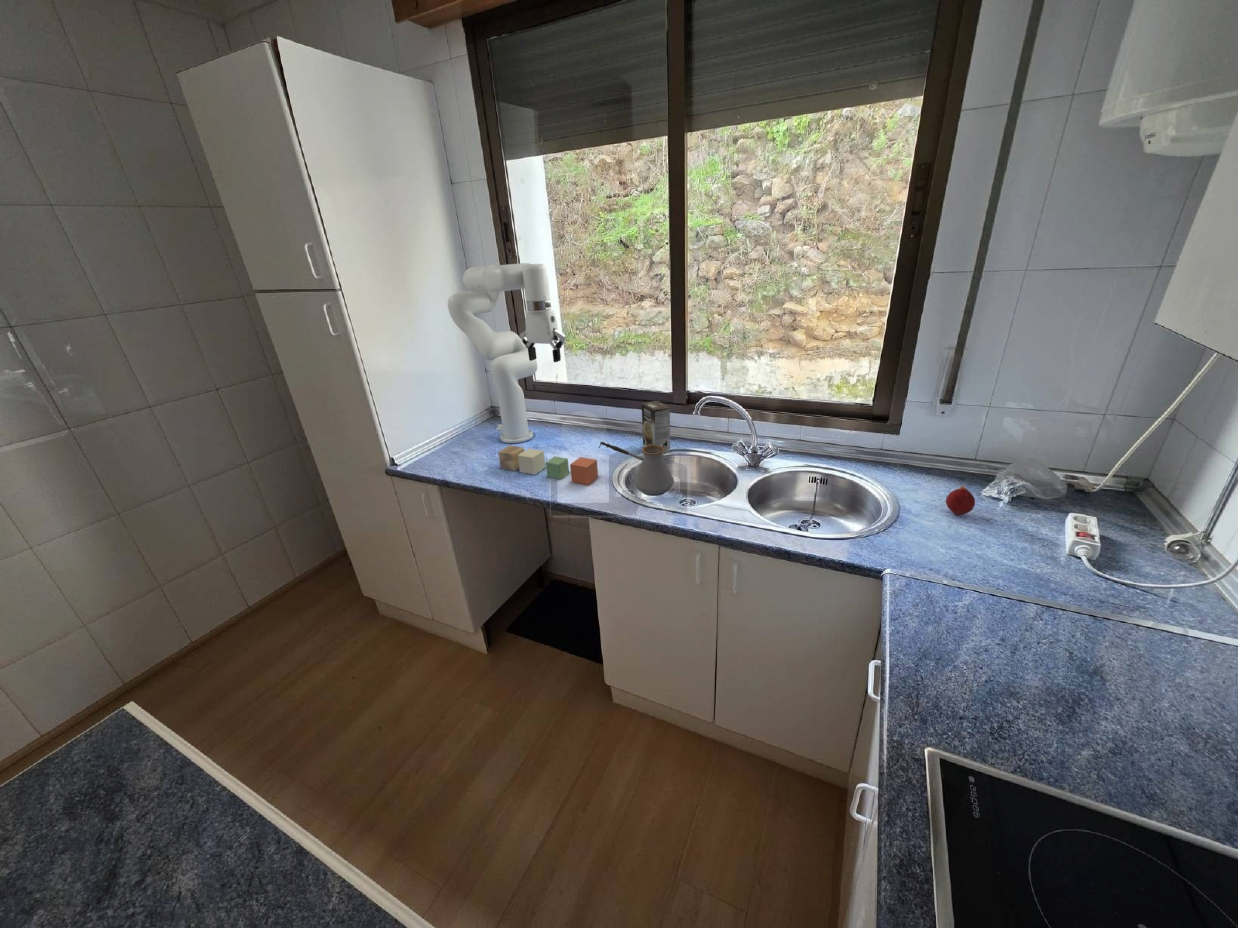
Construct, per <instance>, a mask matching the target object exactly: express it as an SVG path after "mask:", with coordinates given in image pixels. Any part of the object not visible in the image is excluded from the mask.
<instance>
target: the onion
mask: <svg viewBox="0 0 1238 928" xmlns="http://www.w3.org/2000/svg"><path fill="white" fill-rule="evenodd" d="M945 505H946V507H947V508H948V509H949V511H950V512H951V513H952V514H953V515H955V516H961V515H966V514H968V513H971V512H972V511H973V509H974V507H975V505H976V500H975V496H974V495H973V493H972V492H970V490H968V488H966V486H964V485H961V486H960V488H957V489H954V490H952V491H950V492H949V493H948V494H947V497H946V498H945Z"/></svg>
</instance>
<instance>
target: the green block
mask: <svg viewBox="0 0 1238 928" xmlns="http://www.w3.org/2000/svg"><path fill="white" fill-rule="evenodd" d="M545 466H546V468H545V469H546V475H547V478H552V479H558V480H562V479H563V478H564V477H566V476H567V475H568V474H569V473H570V469H569V468H570V465H569V459H568V458H566V457H561V456H553V457H551V458H550V459H548V460H547V461H545Z"/></svg>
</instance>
